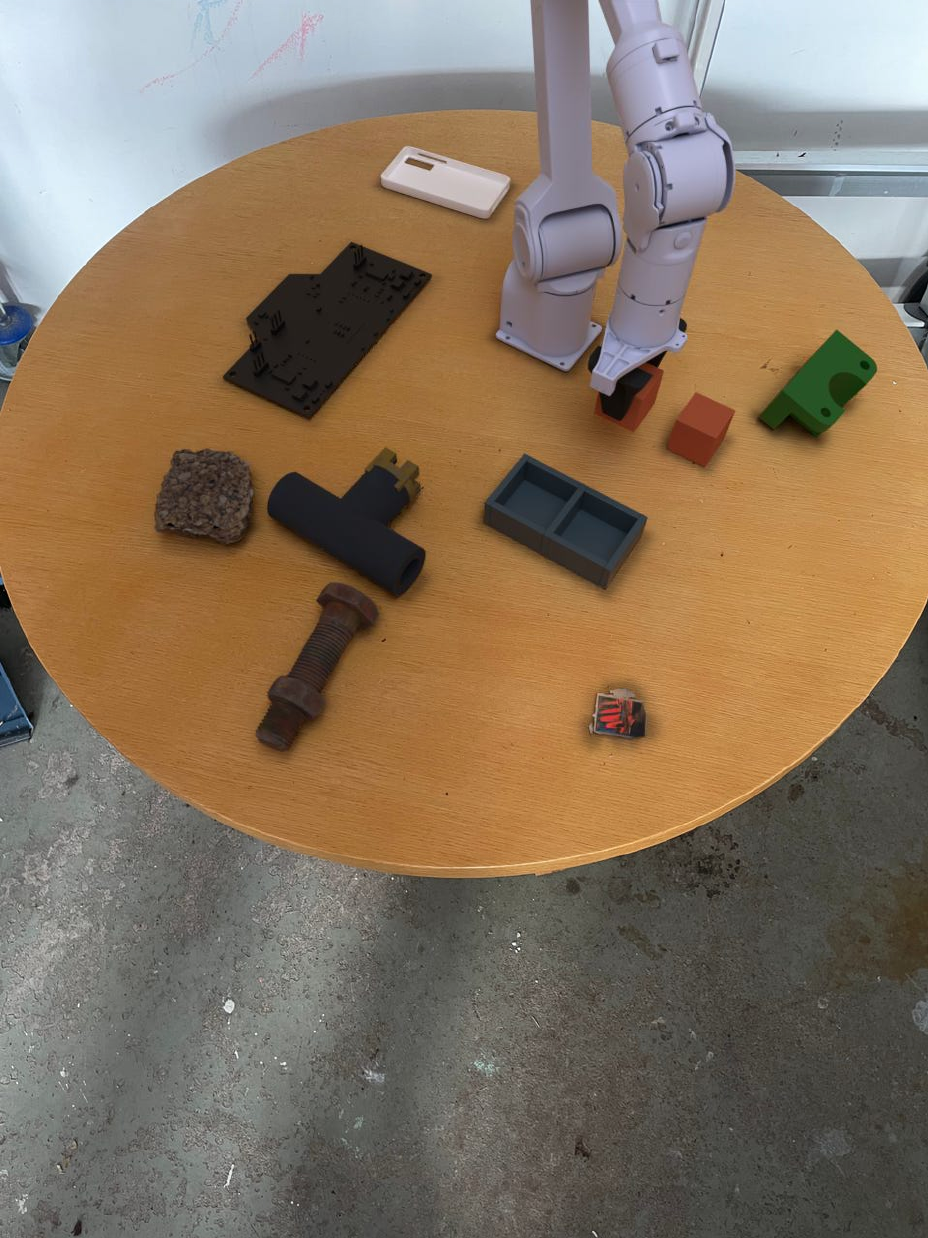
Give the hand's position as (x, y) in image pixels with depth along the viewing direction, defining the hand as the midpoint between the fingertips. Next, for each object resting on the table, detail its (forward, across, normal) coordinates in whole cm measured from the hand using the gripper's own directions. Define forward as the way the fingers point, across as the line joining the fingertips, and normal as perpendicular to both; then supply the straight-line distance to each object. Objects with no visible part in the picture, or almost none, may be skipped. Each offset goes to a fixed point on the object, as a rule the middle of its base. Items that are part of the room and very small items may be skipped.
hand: (624, 398), depth 83 cm
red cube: (+7, +5, -7) cm, 11 cm away
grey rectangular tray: (+8, -12, -1) cm, 14 cm away
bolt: (+8, -38, +10) cm, 40 cm away
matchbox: (+8, -26, -14) cm, 31 cm away
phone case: (+8, +26, +38) cm, 46 cm away
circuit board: (+8, -2, +36) cm, 37 cm away
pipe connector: (+8, -22, +15) cm, 28 cm away
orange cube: (+1, 0, 0) cm, 1 cm away
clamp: (+8, +16, -15) cm, 23 cm away
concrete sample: (+8, -28, +30) cm, 42 cm away
